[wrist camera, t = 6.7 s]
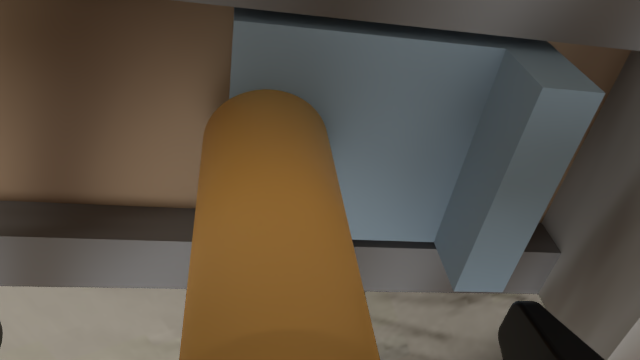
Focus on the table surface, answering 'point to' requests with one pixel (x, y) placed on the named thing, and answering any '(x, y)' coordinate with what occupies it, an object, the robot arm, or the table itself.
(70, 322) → the table surface
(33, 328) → the table surface
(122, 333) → the table surface
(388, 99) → the press jaw
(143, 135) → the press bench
